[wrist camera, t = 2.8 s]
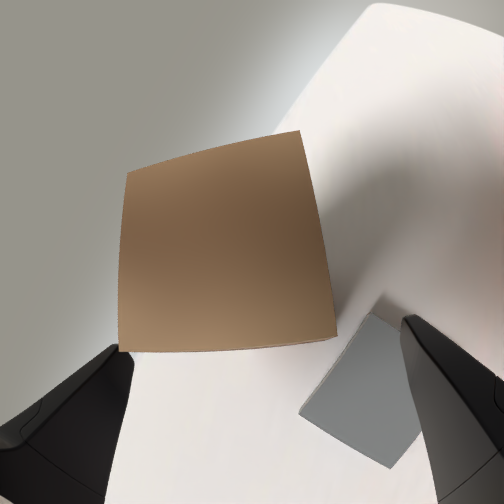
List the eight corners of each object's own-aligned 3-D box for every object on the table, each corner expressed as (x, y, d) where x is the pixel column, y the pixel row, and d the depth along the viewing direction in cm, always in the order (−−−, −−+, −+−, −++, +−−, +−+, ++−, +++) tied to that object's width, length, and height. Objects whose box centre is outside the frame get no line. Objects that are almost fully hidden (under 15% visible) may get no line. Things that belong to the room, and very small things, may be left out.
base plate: (450, 370, 14) (459, 371, 13) (385, 460, 13) (390, 469, 12) (367, 315, 17) (371, 312, 15) (300, 408, 16) (298, 414, 15)
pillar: (324, 340, 17) (337, 335, 5) (252, 349, 18) (118, 351, 6) (315, 269, 18) (299, 130, 6) (245, 279, 19) (127, 173, 7)
